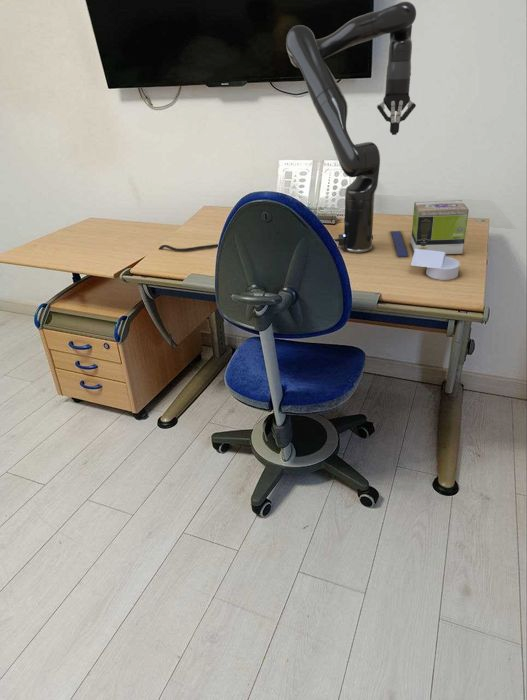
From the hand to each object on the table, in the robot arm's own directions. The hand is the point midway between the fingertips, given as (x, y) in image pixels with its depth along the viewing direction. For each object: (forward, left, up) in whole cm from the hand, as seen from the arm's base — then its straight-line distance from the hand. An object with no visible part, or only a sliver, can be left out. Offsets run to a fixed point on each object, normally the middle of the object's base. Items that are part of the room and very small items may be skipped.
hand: (393, 134), depth 171 cm
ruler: (+2, -21, -31) cm, 37 cm away
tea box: (+13, -26, -31) cm, 43 cm away
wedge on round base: (+10, -44, -31) cm, 55 cm away
